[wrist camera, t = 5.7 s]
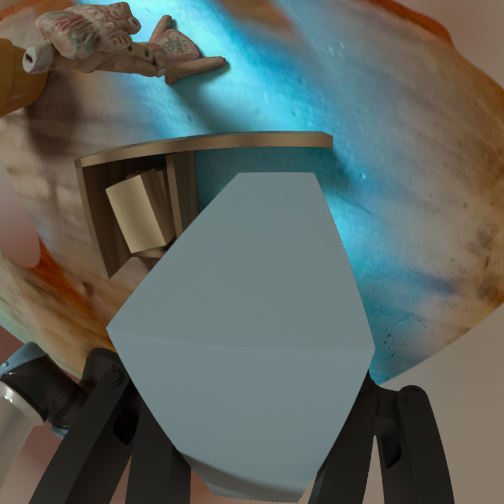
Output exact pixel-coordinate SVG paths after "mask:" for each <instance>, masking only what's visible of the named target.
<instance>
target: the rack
mask: <svg viewBox="0 0 504 504" xmlns="http://www.w3.org/2000/svg"><path fill="white" fill-rule="evenodd" d="M267 146H297V147H329V148H333V136H332V135H329V134H327V133H324V132H316V131H254V132H233V133H218V134H206V135H196V136H187V137H178V138H170V139H163V140H156V141H150V142H144V143H138V144H132V145H127V146H121V147H116V148H112V149H108V150H105V151H101V152H98V153H94V154H91V155H88V156H85V157H82V158H78V159H75V167H76V173H77V179H78V184H79V189H80V194H81V199H82V204H83V208H84V213H85V217H86V221H87V225H88V229H89V233H90V236H91V240H92V244H93V247H94V251H95V254H96V257H97V261H98V264H99V267H100V270H101V273H102V276H103V279H110V278H111V277H112V276H113V275H114V274H115V273H116V272H117V271H118V270H119V269H120V268H121V267H122V266H123V265H124V264H125V263H126V262H127V261H128V260H129V259H130V258H131V257H156V258H162V257H163V256H164V254H165V253H166V252H167V251H168V250H169V248H170V247H171V246H172V245H173V244H167V245H165V246H160V247H156V248H152V249H147V250H143V251H138V252H134V253H131V251H130V249H129V247H128V244H127V242H126V240H125V237H124V235H123V233H122V230H121V228H120V226H119V223H118V221H117V218H116V216H115V213H114V211H113V208H112V205H111V203H110V200H109V197H108V195H107V192H106V189H107V188H109V187H111V186H113V185H115V184H117V183H119V182H121V181H124V174H123V168H122V161H121V160H122V159H128V158H134V157H141V156H148V155H156V154H163V153H171V154H168V155H166V164H167V173H168V181H169V188H170V196H171V203H172V210H173V216H174V223H175V229H176V235H177V239H178V238H179V237H180V236H181V235H182V233H183V232H184V231H185V230H186V229H187V228H188V227H189V226H190V224H191V223H192V222H193V221H194V220H195V219H196V218H197V217H198V216H199V214H200V207H199V198H198V188H197V179H196V169H195V158H194V150H204V149H217V148H235V147H267ZM172 152H174V153H172Z"/></svg>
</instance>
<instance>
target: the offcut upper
mask: <svg viewBox="0 0 504 504" xmlns="http://www.w3.org/2000/svg"><path fill="white" fill-rule="evenodd" d="M106 192H107V195H108V197H109V200H110V203H111V205H112V208H113V211H114V213H115V216H116V218H117V221H118V223H119V226H120V228H121V230H122V233H123V235H124V237H125V240H126V242H127V244H128V247H129V249H130V251H131V253H134V252H138V251H143V250H147V249H152V248H156V247H160V246H165V245H167V244H168V243H169V242H170V241H171V239H172V238H173V237H174V236H175V235H176V229H175V223H174V220H173V217H172V214H171V212H170V209H169V206H168V203H167V201H166V198H165V195H164V192H163V189H162V187H161V184H160V181H159V178H158V175H157V172H156V169H155V168H154V169H152V170H149V171H146V172H144V173H141V174H139V175H136V176H134V177H131V178H129V179H126V180H124V181H121V182H119V183H117V184H115V185H113V186H111V187H109V188H107V189H106Z"/></svg>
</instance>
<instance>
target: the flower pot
mask: <svg viewBox="0 0 504 504" xmlns="http://www.w3.org/2000/svg"><path fill="white" fill-rule="evenodd" d="M25 52H26V49H23V48H20V47H17V46H13V44H12V42H11V41H10V40H9V39H5V38H0V117H2V116H4V115H7V114H9V113H11V112H13V111H16V110H18V109H20V108H22V107H25V106H27V105H30V104H32V103H33V102H35V101H36V100H37V99H38V98H39V97H40V95H41V93H42V92H43V89H44V87H45V84H46V80H47V77H48V72H42V73H37V74H28V73H27V72H26V71H25V70H24V67H23V58H24V54H25Z"/></svg>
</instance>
